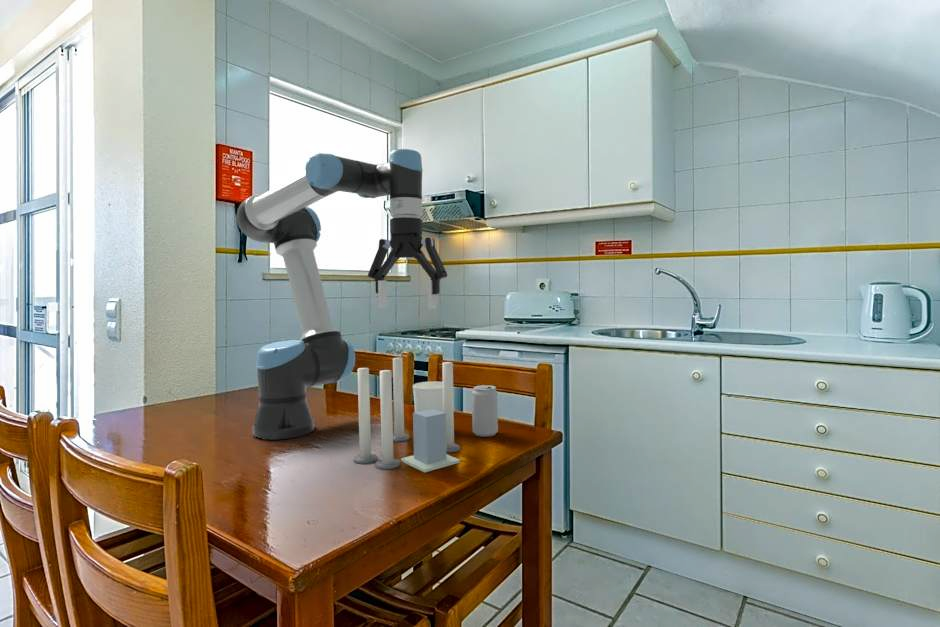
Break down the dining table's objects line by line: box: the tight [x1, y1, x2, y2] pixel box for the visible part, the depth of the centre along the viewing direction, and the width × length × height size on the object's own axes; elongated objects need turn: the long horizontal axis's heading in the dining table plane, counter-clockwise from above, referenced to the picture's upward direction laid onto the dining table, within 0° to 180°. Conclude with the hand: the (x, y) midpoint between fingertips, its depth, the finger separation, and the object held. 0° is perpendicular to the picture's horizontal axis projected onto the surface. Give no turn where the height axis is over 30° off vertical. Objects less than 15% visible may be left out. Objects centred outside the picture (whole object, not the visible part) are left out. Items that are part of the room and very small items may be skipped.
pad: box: [400, 453, 461, 473], centre depth 111 cm, size 9×9×1 cm
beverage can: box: [471, 384, 499, 438], centre depth 131 cm, size 6×6×12 cm
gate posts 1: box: [353, 357, 411, 465], centre depth 120 cm, size 5×21×20 cm, turn 161°
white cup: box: [412, 380, 443, 412], centre depth 135 cm, size 10×10×12 cm
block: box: [412, 409, 447, 465], centre depth 111 cm, size 5×5×10 cm
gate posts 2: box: [375, 361, 461, 471], centre depth 114 cm, size 5×21×20 cm, turn 129°
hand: (407, 308), depth 124 cm, fingers open, 13 cm apart
